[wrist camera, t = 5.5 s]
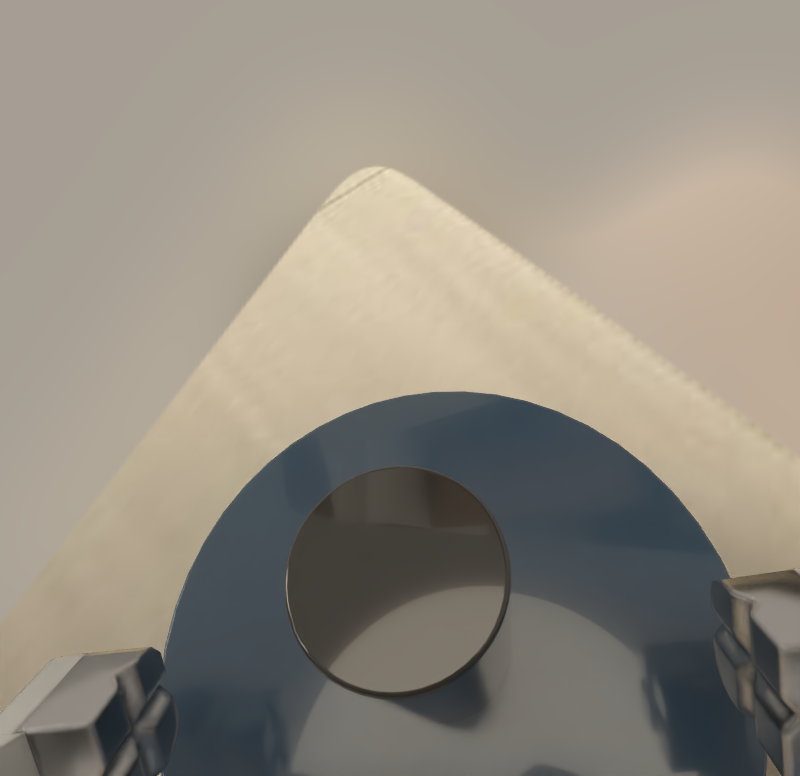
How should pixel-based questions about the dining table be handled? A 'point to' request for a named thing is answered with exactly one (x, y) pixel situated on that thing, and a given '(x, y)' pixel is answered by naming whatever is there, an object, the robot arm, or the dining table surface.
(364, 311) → the dining table surface
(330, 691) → the lid
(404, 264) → the dining table surface
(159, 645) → the dining table surface
